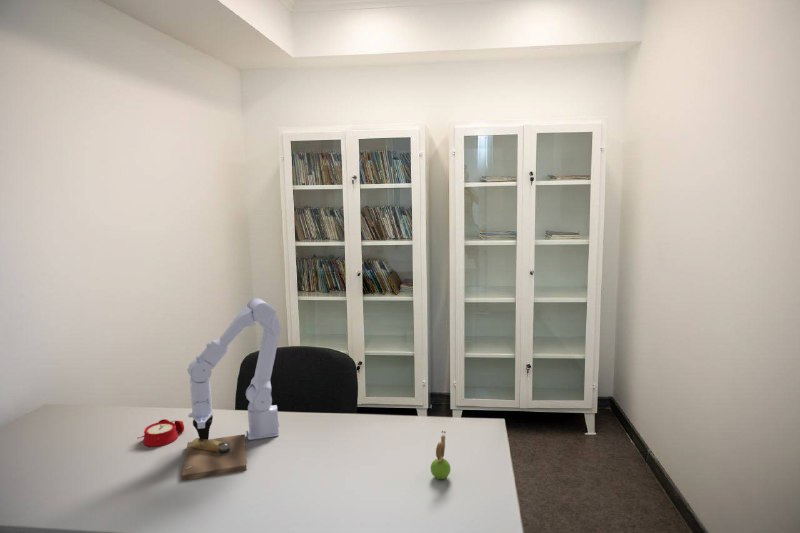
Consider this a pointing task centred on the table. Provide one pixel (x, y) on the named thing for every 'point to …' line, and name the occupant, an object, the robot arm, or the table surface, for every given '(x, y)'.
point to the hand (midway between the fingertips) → (204, 440)
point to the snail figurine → (440, 461)
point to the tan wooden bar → (211, 445)
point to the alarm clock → (162, 432)
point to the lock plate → (215, 459)
